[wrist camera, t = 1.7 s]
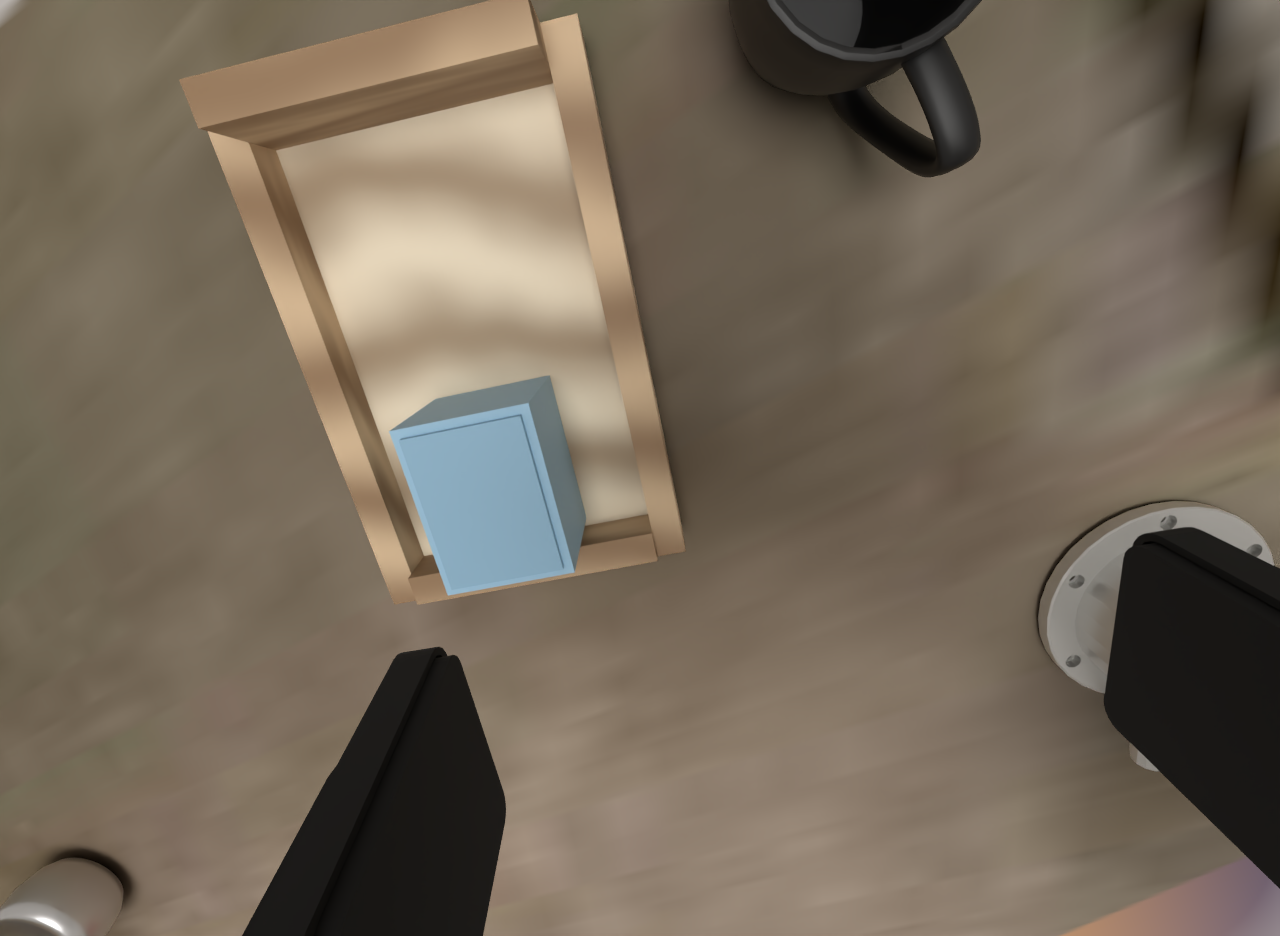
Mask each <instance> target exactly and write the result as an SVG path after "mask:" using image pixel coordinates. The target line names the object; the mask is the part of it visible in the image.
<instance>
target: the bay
mask: <svg viewBox="0 0 1280 936" xmlns="http://www.w3.org/2000/svg"><path fill="white" fill-rule="evenodd" d="M179 80H180V83H181V85H182V88H183V90H184V93H185V95H186V98H187V100H188V103H189V105H190V108H191V110H192V113H193V115H194V118H195V120H196V123H197V125H198V128H199V129H202V130H206V131H208V134H209V136H210V139H211V141H212V144H213V146H214V149H215V151H216V154H217V157H218V159H219V162H220V164H221V167H222V169H223V172H224V174H225V177H226V179H227V182H228V184H229V187H230V189H231V192H232V194H233V197H234V200H235V202H236V205H237V207H238V210H239V212H240V215H241V217H242V220H243V222H244V225H245V227H246V230H247V232H248V235H249V238H250V240H251V243H252V245H253V248H254V250H255V253H256V255H257V258H258V260H259V263H260V265H261V268H262V270H263V273H264V275H265V278H266V281H267V283H268V286H269V288H270V291H271V293H272V296H273V298H274V301H275V303H276V306H277V308H278V311H279V313H280V316H281V319H282V321H283V324H284V326H285V329H286V331H287V334H288V336H289V339H290V341H291V344H292V346H293V349H294V351H295V354H296V356H297V359H298V362H299V364H300V367H301V369H302V372H303V374H304V377H305V379H306V382H307V384H308V387H309V389H310V392H311V394H312V397H313V400H314V402H315V405H316V407H317V410H318V412H319V415H320V417H321V420H322V422H323V425H324V427H325V430H326V432H327V435H328V437H329V440H330V443H331V445H332V448H333V450H334V453H335V455H336V458H337V460H338V463H339V465H340V468H341V470H342V473H343V475H344V478H345V481H346V483H347V486H348V488H349V491H350V493H351V496H352V498H353V501H354V503H355V506H356V508H357V511H358V513H359V516H360V518H361V521H362V524H363V526H364V529H365V531H366V534H367V536H368V539H369V541H370V544H371V546H372V549H373V551H374V554H375V556H376V559H377V562H378V564H379V567H380V569H381V572H382V574H383V577H384V579H385V582H386V584H387V587H388V589H389V592H390V594H391V597H392V599H393V602H394V604H400V603H405V602H411V601H416V602H417V604H418V605H419V604H424V603H430V602H435V601H441V600H446V599H452V598H457V597H463V596H468V595H474V594H479V593H485V592H490V591H496V590H501V589H507V588H512V587H518V586H523V585H529V584H534V583H540V582H545V581H551V580H556V579H562V578H567V577H573V576H578V575H584V574H589V573H595V572H600V571H606V570H611V569H617V568H622V567H628V566H633V565H639V564H644V563H650V562H655V561H658V556H663V555H668V554H674V553H679V552H685V551H686V550H685V543H684V536H683V529H682V524H681V519H680V514H679V509H678V504H677V499H676V494H675V489H674V484H673V479H672V474H671V469H670V464H669V459H668V454H667V449H666V444H665V439H664V434H663V429H662V424H661V419H660V414H659V409H658V404H657V399H656V395H655V390H654V385H653V380H652V375H651V370H650V365H649V360H648V355H647V350H646V345H645V340H644V335H643V330H642V325H641V320H640V315H639V310H638V305H637V300H636V295H635V290H634V285H633V280H632V275H631V270H630V265H629V260H628V255H627V250H626V245H625V240H624V235H623V231H622V226H621V221H620V216H619V211H618V206H617V201H616V196H615V191H614V186H613V181H612V176H611V171H610V166H609V161H608V156H607V151H606V146H605V141H604V136H603V131H602V126H601V121H600V116H599V111H598V106H597V101H596V96H595V91H594V86H593V81H592V76H591V71H590V67H589V62H588V57H587V52H586V47H585V42H584V37H583V34H582V30H581V26H580V23H579V19H578V15H577V14H573V15H569V16H565V17H561V18H557V19H553V20H549V21H545V22H541V23H540V22H539V19H538V17H537V15H536V12H535V10H534V8H533V6H532V3H531V1H530V0H490V1H486V2H482V3H478V4H474V5H470V6H466V7H462V8H458V9H454V10H450V11H447V12H443V13H439V14H435V15H431V16H427V17H423V18H419V19H415V20H411V21H407V22H403V23H399V24H395V25H391V26H388V27H384V28H380V29H376V30H372V31H368V32H364V33H360V34H356V35H352V36H348V37H344V38H340V39H336V40H332V41H329V42H325V43H321V44H317V45H313V46H309V47H305V48H301V49H297V50H293V51H289V52H285V53H281V54H277V55H273V56H270V57H266V58H262V59H258V60H254V61H250V62H246V63H242V64H238V65H234V66H230V67H226V68H222V69H218V70H214V71H211V72H207V73H203V74H199V75H195V76H191V77H187V78H183V79H179ZM548 375H550V379H551V383H552V386H553V390H554V394H555V398H556V402H557V406H558V410H559V414H560V417H561V421H562V425H563V429H564V433H565V437H566V441H567V445H568V448H569V452H570V456H571V460H572V464H573V468H574V472H575V476H576V479H577V483H578V487H579V491H580V495H581V499H582V503H583V507H584V510H585V514H586V522H585V527H584V532H583V536H582V541H581V546H580V550H579V555H578V560H577V565H576V569H575V573H569V574H564V575H558V576H553V577H547V578H542V579H536V580H531V581H525V582H520V583H514V584H509V585H503V586H498V587H492V588H487V589H482V590H476V591H471V592H465V593H460V594H454V595H449V596H448V594H447V592H446V589H445V586H444V583H443V581H442V578H441V575H440V572H439V569H438V567H437V564H436V561H435V558H434V555H433V553H432V550H431V547H430V544H429V542H428V539H427V536H426V533H425V530H424V528H423V525H422V522H421V519H420V516H419V514H418V511H417V508H416V505H415V503H414V500H413V497H412V494H411V491H410V489H409V486H408V483H407V480H406V477H405V475H404V472H403V469H402V466H401V464H400V461H399V458H398V455H397V452H396V450H395V447H394V444H393V441H392V438H391V436H390V433H389V431H390V430H392V429H393V428H395V427H396V426H397V425H399V424H400V423H402V422H403V421H405V420H406V419H407V418H409V417H410V416H412V415H413V414H415V413H416V412H418V411H419V410H420V409H422V408H423V407H425V406H426V405H428V404H429V403H430V402H432V401H433V400H435V399H437V398H442V397H447V396H452V395H457V394H461V393H466V392H471V391H476V390H481V389H486V388H490V387H495V386H500V385H505V384H510V383H515V382H519V381H524V380H529V379H534V378H539V377H544V376H548Z"/></svg>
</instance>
